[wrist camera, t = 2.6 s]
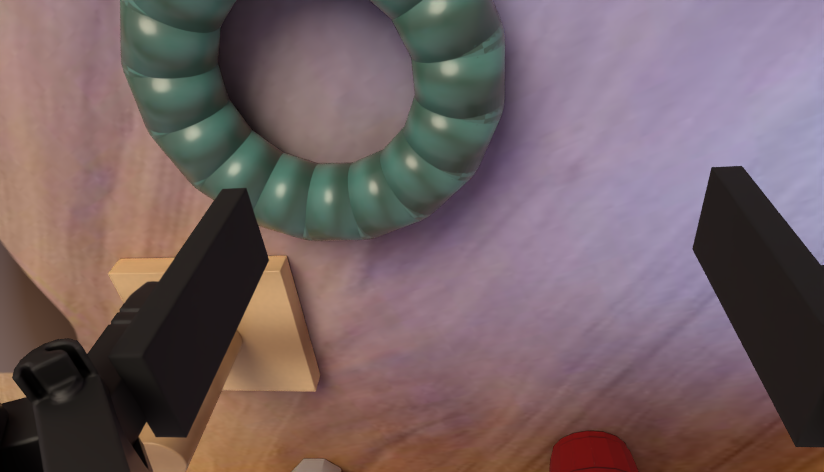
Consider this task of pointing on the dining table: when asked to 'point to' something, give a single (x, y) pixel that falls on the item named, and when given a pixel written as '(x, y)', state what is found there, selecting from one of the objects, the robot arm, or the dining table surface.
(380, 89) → the dining table surface
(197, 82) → the ring
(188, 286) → the robot arm
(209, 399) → the peg stand
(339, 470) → the salt shaker
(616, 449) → the plastic cup
